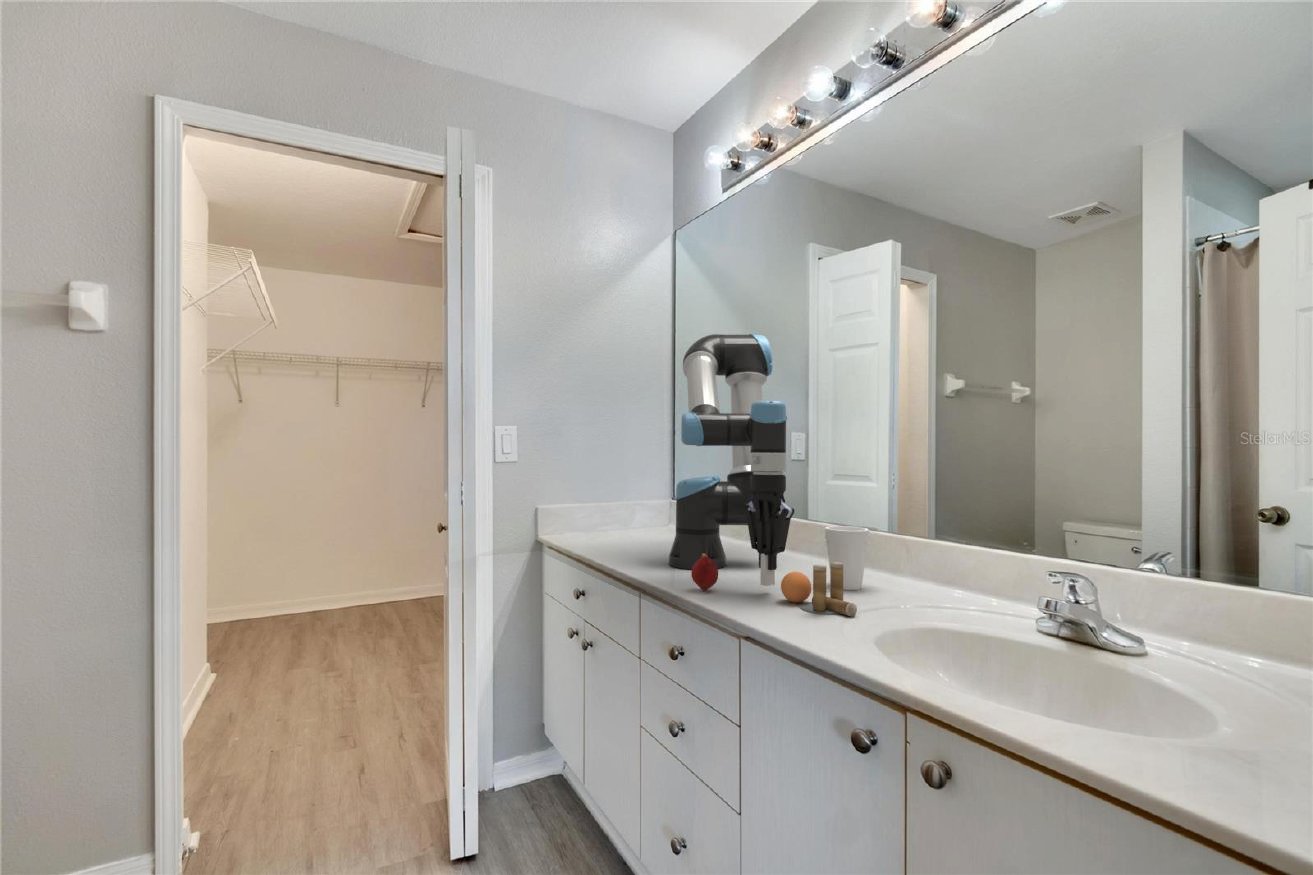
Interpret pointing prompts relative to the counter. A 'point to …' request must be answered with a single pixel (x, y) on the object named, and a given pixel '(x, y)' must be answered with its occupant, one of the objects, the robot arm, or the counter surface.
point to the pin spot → (809, 608)
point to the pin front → (840, 606)
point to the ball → (796, 587)
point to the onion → (704, 573)
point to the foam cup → (848, 552)
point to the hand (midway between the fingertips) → (767, 584)
